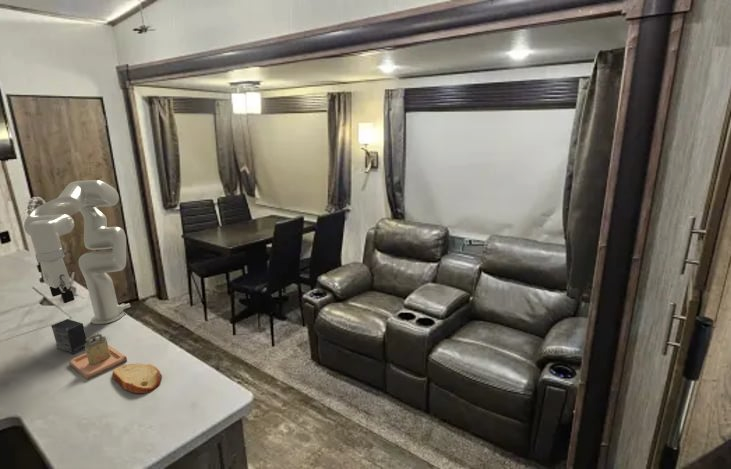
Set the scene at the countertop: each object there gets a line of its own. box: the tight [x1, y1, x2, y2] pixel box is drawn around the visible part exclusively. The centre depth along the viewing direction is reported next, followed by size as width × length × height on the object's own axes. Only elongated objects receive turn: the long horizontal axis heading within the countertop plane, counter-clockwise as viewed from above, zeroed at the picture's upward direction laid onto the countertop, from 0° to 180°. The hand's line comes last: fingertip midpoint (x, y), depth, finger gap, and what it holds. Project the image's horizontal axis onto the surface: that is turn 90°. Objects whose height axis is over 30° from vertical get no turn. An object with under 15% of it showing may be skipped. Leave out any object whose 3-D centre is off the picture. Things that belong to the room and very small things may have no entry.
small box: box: [50, 318, 87, 355], centre depth 155 cm, size 11×6×10 cm, turn 65°
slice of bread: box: [111, 363, 163, 394], centre depth 135 cm, size 18×18×4 cm
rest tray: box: [68, 344, 128, 380], centre depth 146 cm, size 13×16×2 cm
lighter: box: [84, 333, 111, 365], centre depth 145 cm, size 7×4×10 cm, turn 144°
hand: (63, 298), depth 144 cm, fingers open, 9 cm apart
